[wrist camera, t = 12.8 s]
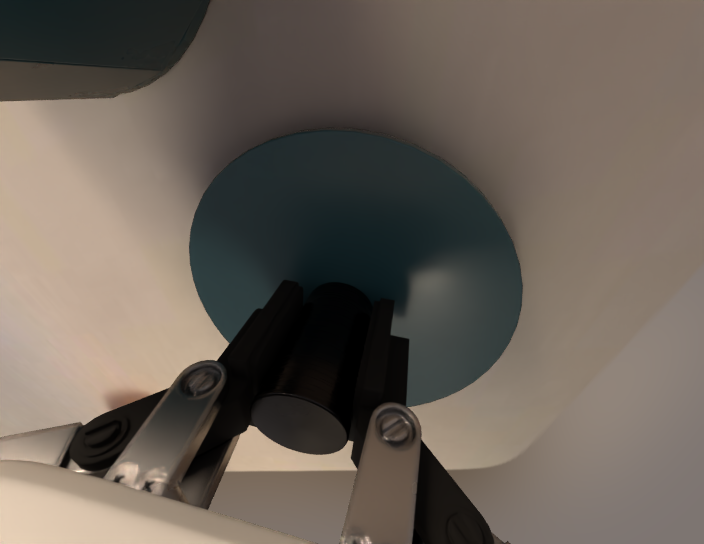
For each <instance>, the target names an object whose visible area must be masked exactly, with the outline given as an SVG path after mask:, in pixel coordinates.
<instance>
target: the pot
mask: <svg viewBox="0 0 704 544" xmlns="http://www.w3.org/2000/svg"><path fill="white" fill-rule="evenodd" d="M208 3H209V0H0V101H27V100H60V99H93V98H114V97H116V96H117V95H119V94H122V93H128V92H133V91H135V90H138V89H140V88H143V87H145V86H148V85H150V84H151V83H153V82H154V81H156V80H157V79H159V78H160V77H162V76H163V75H165V74H166V73H167V72H168V71H169V70H170V69H171V68H172V67H173V66H174V65H175V64H176V63H177V62H178V61H179V60H180V58H181V57H182V55H183V54H184V52H185V51H186V49H187V48H188V46H189V45H190V44H191V42H192V41H193V39H194V37H195V35H196V33H197V30H198V28H199V26H200V24H201V22H202V20H203V18H204V16H205V13H206V10H207V6H208Z"/></svg>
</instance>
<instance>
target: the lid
mask: <svg viewBox="0 0 704 544" xmlns="http://www.w3.org/2000/svg"><path fill="white" fill-rule="evenodd" d="M189 253H190V266H191V271H192V275H193V280H194V283H195V286H196V289H197V292H198V295H199V297H200V300H201V302H202V304H203V306H204V308H205V310H206V312H207V313H208V315H209V317H210V318H211V320H212V322H213V323H214V325H215V326H216V327H217V329H218V330H219V331H220V333H221V334H222V335H223V337H224V338H225V339H226V340H227V341H228V342H229V343H231V341H232V340H233V339H234V337H235V336H236V335H237V333H238V332H239V331H240V329H241V328H242V327H243V325H244V324H245V323H246V321H247V320H248V319H249V317H250V316H251V315H252V313H253V312H254V311H255V310H256V309H258V308H261V309H263V308H264V306H265V305H266V303H267V302H268V301H269V299H270V298H271V296H272V295H273V294H274V292H275V291H276V289H277V288H278V287H279V285H280V284H281V282H282V281H283V280H289V281H295V282H298V283H299V286H301V287H303V308H302V310H301V312H300V314H299V316H298V318H297V319H296V321H295V323H294V325H293V327H292V329H291V331H290V332H289V334H288V336H287V338H286V340H285V342H284V344H283V345H282V347H281V349H280V351H279V353H278V355H277V357H276V358H275V360H274V362H273V364H272V366H271V368H270V369H269V371H268V373H267V375H266V377H265V379H264V381H263V382H262V384H261V386H260V388H259V390H258V392H257V394H256V395H255V397H254V399H253V401H252V403H251V405H250V416H251V419H252V421H253V423H254V424H255V426H256V427H257V428H258V429H259V430H260V431H261V432H262V433H263V434H264V435H265V436H267V437H268V438H270V439H271V440H273V441H274V442H276V443H278V444H280V445H282V446H284V447H286V448H289V449H292V450H295V451H298V452H302V453H307V454H316V455H323V454H331V453H334V452H337V451H339V450H341V449H342V448H343V447H344V446H345V445H346V443H347V441H348V438H349V433H350V429H351V424H352V419H353V412H352V408H353V401H354V393H355V387H356V382H357V377H358V373H359V368H360V364H361V359H362V355H363V350H364V346H365V341H366V337H367V332H368V328H369V323H370V319H371V314H372V310H373V305H374V301H380V299H381V298H385V299H390V300H395V303H394V311H393V319H392V327H391V335H393V336H398V337H403V338H408V339H409V360H408V380H407V400H406V407H411V406H417V405H421V404H425V403H430V402H433V401H436V400H439V399H442V398H444V397H447V396H449V395H451V394H453V393H455V392H458V391H460V390H462V389H463V388H465V387H466V386H468V385H470V384H471V383H473V382H474V381H476V380H477V379H478V378H479V377H481V376H482V375H483V374H484V373H485V372H487V371H488V370H489V369H490V368H491V367H492V365H493V364H494V363H495V362H496V361H497V360H498V359H499V358H500V356H501V355H502V353H503V352H504V350H505V349H506V347H507V346H508V344H509V342H510V340H511V338H512V336H513V333H514V331H515V329H516V326H517V323H518V319H519V315H520V311H521V306H522V289H523V285H522V277H521V269H520V263H519V260H518V257H517V254H516V250H515V247H514V244H513V241H512V239H511V237H510V235H509V234H508V232H507V230H506V228H505V226H504V224H503V222H502V220H501V218H500V217H499V215H498V213H497V212H496V211H495V209H494V208H493V207H492V205H491V204H490V203H489V201H488V200H487V199H486V197H485V196H484V195H483V193H482V192H481V191H480V190H479V189H478V188H477V187H476V186H475V185H474V184H473V183H471V182H470V181H469V180H468V179H467V178H466V177H465V176H464V175H463V174H462V173H461V172H459V171H458V170H457V169H455V168H454V167H452V166H451V165H450V164H448V163H447V162H445V161H444V160H443V159H441V158H440V157H438V156H436V155H434V154H432V153H430V152H428V151H426V150H424V149H423V148H421V147H419V146H417V145H415V144H412V143H410V142H407V141H404V140H401V139H398V138H395V137H392V136H389V135H386V134H382V133H376V132H371V131H366V130H361V129H349V128H322V129H313V130H303V131H299V132H295V133H292V134H288V135H284V136H281V137H277V138H274V139H272V140H269V141H267V142H265V143H263V144H261V145H258V146H256V147H254V148H252V149H250V150H248V151H247V152H245V153H244V154H242V155H241V156H239V157H238V158H236V159H235V160H233V161H232V162H231V163H229V164H228V165H227V166H226V167H225V168H224V169H223V170H222V171H221V172H220V173H219V174H218V175H217V176H216V177H215V179H214V180H213V181H212V183H211V184H210V186H209V187H208V189H207V190H206V191H205V193H204V194H203V196H202V199H201V201H200V203H199V205H198V207H197V210H196V212H195V215H194V219H193V223H192V227H191V232H190V243H189Z"/></svg>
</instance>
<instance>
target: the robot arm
mask: <svg viewBox="0 0 704 544" xmlns="http://www.w3.org/2000/svg"><path fill="white" fill-rule="evenodd" d="M394 303H395V300H390V299H385V298H381V299H380V301H374V305H373V310H372V314H371V319H370V323H369V328H368V332H367V337H366V341H365V346H364V350H363V355H362V359H361V364H360V368H359V373H358V377H357V382H356V387H355V393H354V401H353V408H352V412H353V419H352V424H351V429H350V433H349V438H348V440H350V441H354V443H353V449H352V455H351V459H352V461H353V463H354V464H355V466H356V468H357V469H358V470H357V474H356V478H355V482H354V486H353V491H352V494H351V498H350V502H349V506H348V511H347V514H346V518H345V523H344V526H343V531H342V534H341V539H340V543H339V544H510V543H509V542H508V541H507V542H506V543H504V542H502V541H501V540H500V539H499V538H498V537H496V536H495V535H494V534H493V533H492V532H491V530H490V528H489V526H488V524H487V523H486V521H485V519H484V518H483V516H482V515H481V514H480V512H479V511H478V510H477V509H476V507H475V506H474V505H473V504H472V503H471V501H470V500H469V499H468V497H467V496H466V495H465V494H464V492H463V491H462V490H461V489H460V488H459V486H458V485H457V484H456V482H455V481H454V480H453V479H452V477H451V476H450V475H449V474H448V473H447V471H446V470H445V469H444V467H443V466H442V465H441V464H440V462H439V461H438V460H437V459H436V457H435V456H434V455H433V454H432V452H431V451H430V450H429V449H428V447H427V446H426V445H425V444H424V442H423V441H422V440H421V435H422V434H421V425H420V423H419V420H418V418H417V417H416V415H415V414H414V413H413V412H412V411H411V410H410V409H409V408H407V407H406V400H407V380H408V360H409V339H408V338H403V337H398V336H393V335H391V327H392V319H393V311H394ZM302 308H303V287H301V286H299V283H298V282H295V281H289V280H283V281H282V282H281V284H280V285H279V287H278V288H277V289H276V291H275V292H274V294H273V295H272V296H271V298H270V299H269V301H268V302H267V303H266V305H265V306H264V308H263V309H261V308H258V309H256V310H255V311H254V312H253V313H252V315H251V316H250V317H249V319H248V320H247V321H246V323H245V324H244V325H243V327H242V328H241V329H240V331H239V332H238V333H237V335H236V336H235V337H234V339H233V340H232V341H231V343H230V344H229V345H228V347H227V348H226V349H225V351H224V352H223V353H222V355H221V356H220V357H219V359H218V360H217V361H214V360H205V361H200V362H197V363H195V364H192V365H190V366H189V367H187V368H186V369H185V370H183V371H182V373H181V374H180V375H179V376H178V377H177V378H176V380H175V381H174V383H173V384H172V385H171V387H170V388H168V389H165V390H163V391H160V392H158V393H155V394H153V395H150V396H147V397H145V398H142V399H140V400H137V401H135V402H132V403H130V404H127V405H124V406H122V407H119V408H117V409H114V410H112V411H109V412H107V413H104V414H102V415H100V416H98V417H96V418H94V419H93V420H92V421H90V422H89V423H87V424H86V425H82V423H81V422H79V423H73V424H68V425H63V426H57V427H52V428H47V429H41V430H36V431H30V432H25V433H20V434H14V435H9V436H4V437H0V544H317V543H314V542H311V541H308V540H304V539H301V538H298V537H295V536H291V535H288V534H285V533H282V532H279V531H275V530H272V529H269V528H265V527H262V526H259V525H255V524H252V523H249V522H246V521H242V520H239V519H236V518H232V517H229V516H226V515H223V514H219V513H216V512H213V511H209V510H208V508H209V506H210V504H211V501H212V499H213V497H214V494H215V492H216V490H217V488H218V485H219V483H220V481H221V478H222V476H223V474H224V471H225V469H226V467H227V465H228V462H229V460H230V458H231V455H232V453H233V451H234V448H235V446H236V444H237V442H238V439H239V436H240V434H241V433H243V432H245V431H246V430H247V428H248V426H249V425H251V426H255V424H254V423H253V421H252V419H251V416H250V405H251V403H252V401H253V399H254V397H255V395H256V394H257V392H258V390H259V388H260V386H261V384H262V382H263V381H264V379H265V377H266V375H267V373H268V371H269V369H270V368H271V366H272V364H273V362H274V360H275V358H276V357H277V355H278V353H279V351H280V349H281V347H282V345H283V344H284V342H285V340H286V338H287V336H288V334H289V332H290V331H291V329H292V327H293V325H294V323H295V321H296V319H297V318H298V316H299V314H300V312H301V310H302ZM255 427H256V426H255Z"/></svg>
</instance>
